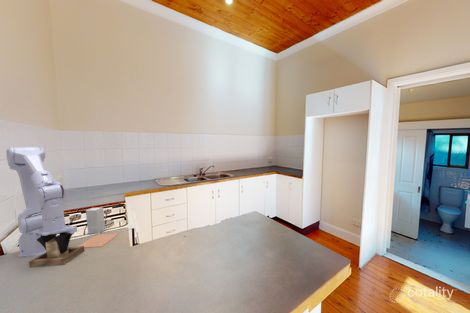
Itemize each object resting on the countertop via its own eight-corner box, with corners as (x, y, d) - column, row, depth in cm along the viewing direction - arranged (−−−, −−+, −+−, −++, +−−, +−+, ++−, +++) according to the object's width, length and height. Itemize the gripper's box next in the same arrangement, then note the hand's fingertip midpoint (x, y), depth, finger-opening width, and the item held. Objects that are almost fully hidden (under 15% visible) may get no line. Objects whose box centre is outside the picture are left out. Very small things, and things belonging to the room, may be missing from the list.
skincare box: (106, 230, 93) (103, 207, 92) (99, 234, 89) (96, 210, 88) (95, 230, 93) (92, 207, 93) (87, 234, 89) (85, 210, 89)
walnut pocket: (29, 268, 64) (28, 261, 64) (53, 254, 72) (52, 248, 72) (65, 265, 64) (64, 259, 64) (84, 252, 72) (83, 246, 72)
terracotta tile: (75, 250, 74) (75, 248, 74) (95, 236, 85) (95, 235, 85) (102, 248, 75) (101, 246, 74) (119, 235, 86) (118, 233, 85)
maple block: (47, 261, 66) (45, 242, 66) (58, 254, 70) (56, 237, 70) (58, 260, 66) (56, 241, 66) (68, 254, 70) (66, 236, 70)
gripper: (21, 223, 63) (26, 260, 64) (62, 220, 63) (67, 257, 64) (42, 215, 70) (47, 249, 71) (80, 212, 70) (84, 246, 71)
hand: (57, 252), depth 68 cm, fingers closed on maple block, 4 cm apart
